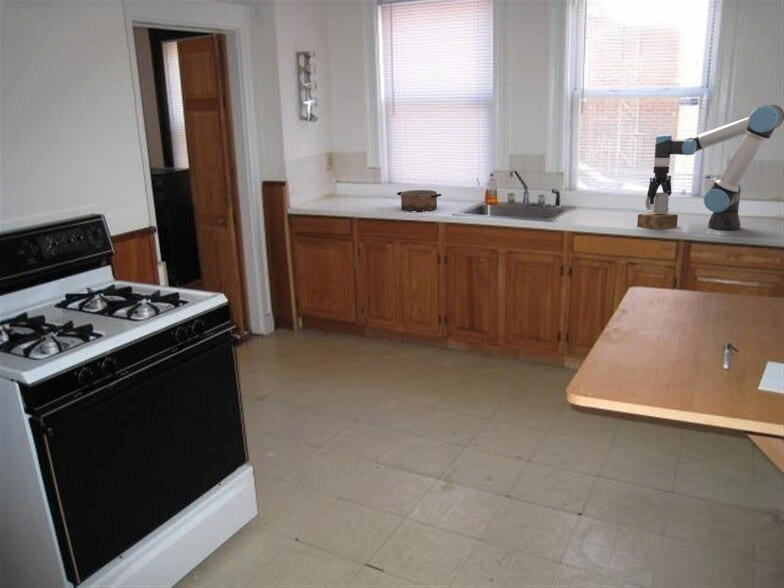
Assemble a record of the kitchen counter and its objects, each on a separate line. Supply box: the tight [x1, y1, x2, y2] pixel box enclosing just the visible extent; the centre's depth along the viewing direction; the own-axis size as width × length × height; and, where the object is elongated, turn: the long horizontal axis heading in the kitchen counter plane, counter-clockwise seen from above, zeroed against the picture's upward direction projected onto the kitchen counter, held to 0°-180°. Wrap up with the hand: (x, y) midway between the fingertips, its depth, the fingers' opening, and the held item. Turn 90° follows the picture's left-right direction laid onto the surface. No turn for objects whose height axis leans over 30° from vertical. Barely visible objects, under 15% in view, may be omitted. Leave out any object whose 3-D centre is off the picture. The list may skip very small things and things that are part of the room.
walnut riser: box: [637, 211, 679, 230], centre depth 373 cm, size 14×14×6 cm
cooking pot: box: [396, 189, 442, 213], centre depth 446 cm, size 30×22×11 cm
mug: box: [644, 192, 670, 213], centre depth 370 cm, size 8×12×12 cm, turn 82°
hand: (658, 209), depth 371 cm, fingers closed on mug, 9 cm apart
